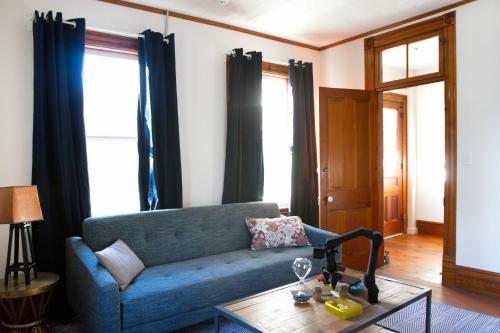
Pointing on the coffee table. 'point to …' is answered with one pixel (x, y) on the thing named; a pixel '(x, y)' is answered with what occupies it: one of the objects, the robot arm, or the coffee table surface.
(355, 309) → the element tile
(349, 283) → the game console
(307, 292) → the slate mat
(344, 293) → the hook posts
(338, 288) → the steel rail
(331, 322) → the coffee table surface
